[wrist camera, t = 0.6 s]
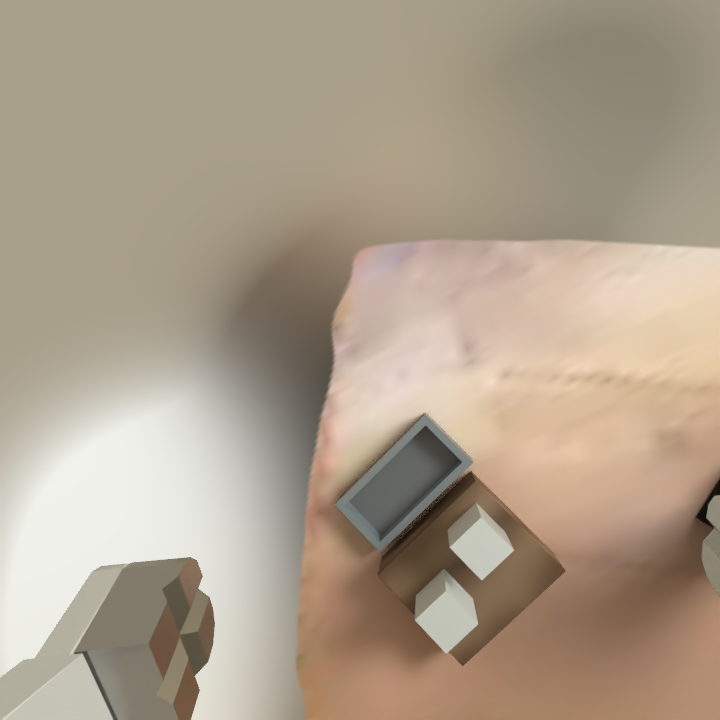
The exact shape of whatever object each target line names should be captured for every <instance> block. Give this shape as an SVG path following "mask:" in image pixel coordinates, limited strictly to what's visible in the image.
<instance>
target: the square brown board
mask: <svg viewBox="0 0 720 720" xmlns="http://www.w3.org/2000/svg"><path fill="white" fill-rule="evenodd" d="M475 503H477V504H478V505H479V506H480V507H481V508H482V509H483V510H484V511H485V512H486V513H487V514H488V515H489V516H490V517H491V518H492V519H493V520H494V521H495V522H496V523H497V524H498V525H499V526H500V527H501V528H502V529H503V530H504V531H505V533H506V535H507V537H508V539H509V541H510V543H511V545H512V547H513V549H514V551H513V552H512V553H511V554H510V555H509V556H508V557H507V558H505V559H504V560H503V561H502V562H501V563H500V564H499V565H498V566H497V567H496V568H495V569H494V570H493V571H492V572H491V573H489V574H488V575H487V576H486V577H485V578H484V579H483V580H481V579H480V578H479V577H478V576H477V575H476V574H475V573H474V572H473V571H472V570H471V569H470V568H469V567H468V566H467V565H466V564H465V563H464V562H463V561H462V560H461V559H460V558H459V557H458V556H457V555H456V554H455V552H454V551H453V550H452V549H451V548H450V547H449V539H448V531H447V530H448V529H449V528H450V527H451V526H452V525H453V524H454V523H455V522H456V521H457V520H458V519H459V518H460V517H461V516H462V515H463V514H464V513H465V512H466V511H467V510H469V509H470V508H471V507H472V506H473V505H474V504H475ZM443 569H445V570H446V571H447V572H448V573H449V574H450V575H451V576H452V577H453V578H454V579H455V580H456V581H457V583H458V584H459V585H460V586H461V587H462V588H463V589H464V590H465V591H466V592H467V593H468V594H469V595H470V596H471V597H472V598H473V601H474V606H475V611H476V616H477V621H478V625H477V626H476V627H475V628H474V629H473V630H472V631H470V632H469V633H468V634H467V635H466V636H465V637H464V638H463V639H462V640H461V641H460V642H459V643H458V644H456V645H455V646H454V647H453V648H452V649H451V650H450V651H449V652H450V653H451V654H452V655H453V656H454V657H455V658H456V660H457V661H458V662H459V663H460V664H461V665H462V666H463V665H464V664H466V663H467V662H468V661H469V660H470V659H471V658H472V657H473V656H474V655H475V654H476V653H477V652H479V651H480V650H481V649H482V648H483V647H484V646H485V645H486V644H487V643H488V642H489V641H490V640H491V639H493V638H494V637H495V636H496V635H497V634H498V633H499V632H500V631H501V630H502V629H503V628H504V627H506V626H507V625H508V624H509V623H510V622H511V621H512V620H513V619H514V618H515V617H516V616H517V615H519V614H520V613H521V612H522V611H523V610H524V609H525V608H526V607H527V606H528V605H529V604H530V603H532V602H533V601H534V600H535V599H536V598H537V597H538V596H539V595H540V594H541V593H542V592H543V591H544V590H546V589H547V588H548V587H549V586H550V585H551V584H552V583H553V582H554V581H555V580H556V579H557V578H559V577H560V576H561V575H562V574H563V573H564V572H565V570H564V568H563V567H562V565H561V564H560V562H559V561H558V559H557V558H556V557H555V555H554V554H553V552H552V551H551V550H550V549H549V548H548V547H547V546H546V545H545V544H544V543H543V542H542V541H541V540H540V539H539V538H538V537H537V536H536V535H535V534H534V533H533V532H532V531H531V530H530V529H529V528H528V527H527V526H526V525H525V524H524V523H523V522H522V521H521V520H520V519H519V518H518V517H517V516H516V515H515V514H514V513H513V512H512V511H511V510H510V509H509V508H508V507H507V506H506V505H505V504H504V503H503V502H502V501H501V500H500V499H499V498H498V497H497V496H496V495H495V494H494V493H493V492H492V491H491V490H490V489H489V488H488V487H487V486H486V485H485V484H484V483H483V482H482V481H481V480H480V479H479V478H478V477H477V476H476V475H475V474H474V473H473V472H472V471H471V472H470V473H469V474H468V475H467V476H466V477H465V478H464V479H462V480H461V481H460V482H459V483H458V484H457V485H456V486H455V487H454V488H453V489H452V490H451V491H450V492H449V493H448V494H447V495H446V496H445V497H444V498H443V499H442V500H441V501H440V502H439V503H438V504H437V505H436V506H435V507H434V508H433V509H431V510H430V511H429V512H428V513H427V514H426V515H425V516H424V517H423V518H422V519H421V520H420V521H419V522H418V523H417V524H416V525H415V526H414V527H413V528H412V529H411V530H410V531H409V532H408V533H407V534H406V535H405V536H404V537H403V538H401V539H400V540H399V541H398V542H397V543H396V544H395V545H394V546H393V547H392V548H391V549H390V550H389V551H388V552H387V553H386V554H385V555H384V556H383V557H382V560H381V564H380V568H379V572H378V577H379V578H380V579H381V580H382V581H383V582H384V583H385V584H386V585H387V586H388V587H389V588H390V589H391V590H392V591H393V593H394V594H395V595H396V596H397V597H398V598H399V599H400V600H401V601H402V602H403V603H404V604H405V605H406V606H407V607H408V608H409V610H410V611H411V612H412V613H413V614H414V615H415V604H416V595H417V594H418V593H419V592H420V591H421V590H422V589H423V588H424V587H425V586H426V585H427V584H428V583H429V582H430V581H432V580H433V579H434V578H435V577H436V576H437V575H438V574H439V573H440V572H441V571H442V570H443Z"/></svg>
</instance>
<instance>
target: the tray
mask: <svg viewBox="0 0 720 720" xmlns="http://www.w3.org/2000/svg"><path fill="white" fill-rule="evenodd" d="M472 463H473V461H472V459H471V457H470V456H469V455H468V454H467V453H466V452H465V451H463V450H462V449H461V448H460V447H459V446H458V445H457V444H456V443H455V442H454V441H453V440H452V439H451V438H450V437H449V436H448V435H447V434H446V433H445V432H444V431H443V430H442V429H441V428H440V427H439V426H438V425H437V424H436V423H435V422H434V421H433V420H432V419H431V418H430V417H429V416H428V415H427V414H426V413H425V414H424V415H423V416H422V417H421V418H420V419H419V420H418V421H417V422H416V423H415V424H414V425H413V426H412V427H411V428H410V429H409V430H408V431H407V432H406V433H405V434H404V435H403V436H402V437H401V438H400V439H399V440H398V441H397V442H396V443H395V444H394V445H393V446H392V447H391V448H390V449H389V450H388V451H386V452H385V453H384V454H383V455H382V456H381V457H380V458H379V459H378V460H377V461H376V462H375V463H374V464H373V465H372V466H371V467H370V468H369V469H368V470H367V471H366V472H365V473H364V474H363V475H362V476H361V477H360V478H359V479H358V480H357V481H356V482H355V483H354V484H353V485H352V486H351V487H350V488H349V489H348V490H347V491H346V492H345V493H344V494H343V495H342V496H341V497H340V498H339V499H338V501H337V502H336V503H335V506H336V507H337V508H338V509H339V510H340V511H341V512H342V513H343V514H344V515H345V516H346V518H347V519H348V520H349V521H350V522H351V523H352V524H353V525H354V526H355V527H356V528H357V529H358V530H359V531H360V532H361V533H362V534H363V535H364V537H365V538H366V539H367V540H368V541H369V542H370V543H371V544H372V545H373V546H374V547H375V548H376V549H377V550H378V551H379V552H381V551H382V550H383V549H384V548H385V547H386V546H387V545H388V544H389V543H390V542H392V541H393V540H394V539H395V538H396V537H397V536H398V535H399V534H400V533H401V532H402V531H403V530H404V529H405V528H406V527H407V526H408V525H409V524H410V523H411V522H412V521H413V520H414V519H415V518H416V517H417V516H418V515H419V514H420V513H421V512H422V511H424V510H425V509H426V508H427V507H428V506H429V505H430V504H431V503H432V502H433V501H434V500H435V499H436V498H437V497H438V496H439V495H440V494H441V493H442V492H443V491H444V490H445V489H446V488H447V487H448V486H449V485H450V484H451V483H452V482H453V481H454V480H456V479H457V478H458V477H459V476H460V475H461V474H462V473H463V472H464V471H465V470H466V469H467V468H468V467H469V466H470V465H471V464H472Z"/></svg>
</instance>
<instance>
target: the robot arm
mask: <svg viewBox="0 0 720 720" xmlns="http://www.w3.org/2000/svg"><path fill="white" fill-rule="evenodd" d="M706 518H707V519H708V520H709V522H710V523H711V524H712V525H713V527H714V529H713V530H712V531H711V533H710V534H709V535H708V536H707V537H706V538H705V539H704V540H703V546H702V558H701V559H702V562H703V566H704V569H705V573H706V576H707V578H708V580H709V582H710V583H711V585H712V587H713V589H714V590H715V592H716V593H717V594H718V595H719V597H720V495H718V496H714V497H713V499H712V500H711V501H710V503H709V504H708V510H707V516H706ZM201 579H202V573H201V570H200V568H199V565H198V562H197V560H195V559H193V558H191V557H189V558H178V559H167V560H156V561H145V562H134V563H130V564H120V565H108V566H101V567H99V568H98V569H96V570H94V571H93V572H92V573H91V574H90V576H89V577H88V579H87V580H86V582H85V583H84V585H83V586H82V588H81V589H80V591H79V592H78V594H77V595H76V597H75V598H74V600H73V601H72V603H71V604H70V606H69V608H68V609H67V610H66V612H65V613H64V615H63V616H62V618H61V620H60V621H59V622H58V624H57V625H56V627H55V628H54V630H53V632H52V633H51V634H50V636H49V638H48V639H47V640H46V642H45V644H44V645H43V647H42V648H41V650H40V652H39V653H38V654H37V656H36V657H35V659H27V660H23V661H22V662H20V663H19V664H18V665H17V666H15V667H14V668H13V669H11V670H10V671H9V672H7V673H6V674H5V675H3V676H2V677H1V678H0V720H191V717H192V713H193V710H194V707H195V704H196V700H197V697H198V694H199V687H198V684H197V681H196V678H195V675H196V674H197V673H198V672H199V671H200V670H201V669H202V668H203V666H204V665H205V664H206V663H207V662H208V660H209V657H210V653H211V649H212V646H213V637H214V626H215V622H214V613H213V607H212V604H211V601H210V598H209V597H208V596H207V595H206V594H204V593H203V592H202V591H201V590H199V589H198V587H199V584H200V582H201Z"/></svg>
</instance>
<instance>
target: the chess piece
mask: <svg viewBox="0 0 720 720" xmlns="http://www.w3.org/2000/svg"><path fill="white" fill-rule="evenodd" d="M718 495H720V480H719V482H718V483H717V485H716V487H715V488H714V490H713V491H712V493H711V495H710V496H709V498H708V499H707V501H706V503H705V504H704V506H703V507H702V509H701V511H700V512H699V514H698V515H697V517H696V518H698V519H699V520H701V521H703V522H705V523H706V524H708V525H710V526H712V527H713V525H712V524H711V523H710V522H709V520H708V519H707V518H706V516H707V510H708V504H709V503H710V501H711V500H712V499H713V497H714V496H718ZM713 528H714V527H713Z"/></svg>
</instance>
